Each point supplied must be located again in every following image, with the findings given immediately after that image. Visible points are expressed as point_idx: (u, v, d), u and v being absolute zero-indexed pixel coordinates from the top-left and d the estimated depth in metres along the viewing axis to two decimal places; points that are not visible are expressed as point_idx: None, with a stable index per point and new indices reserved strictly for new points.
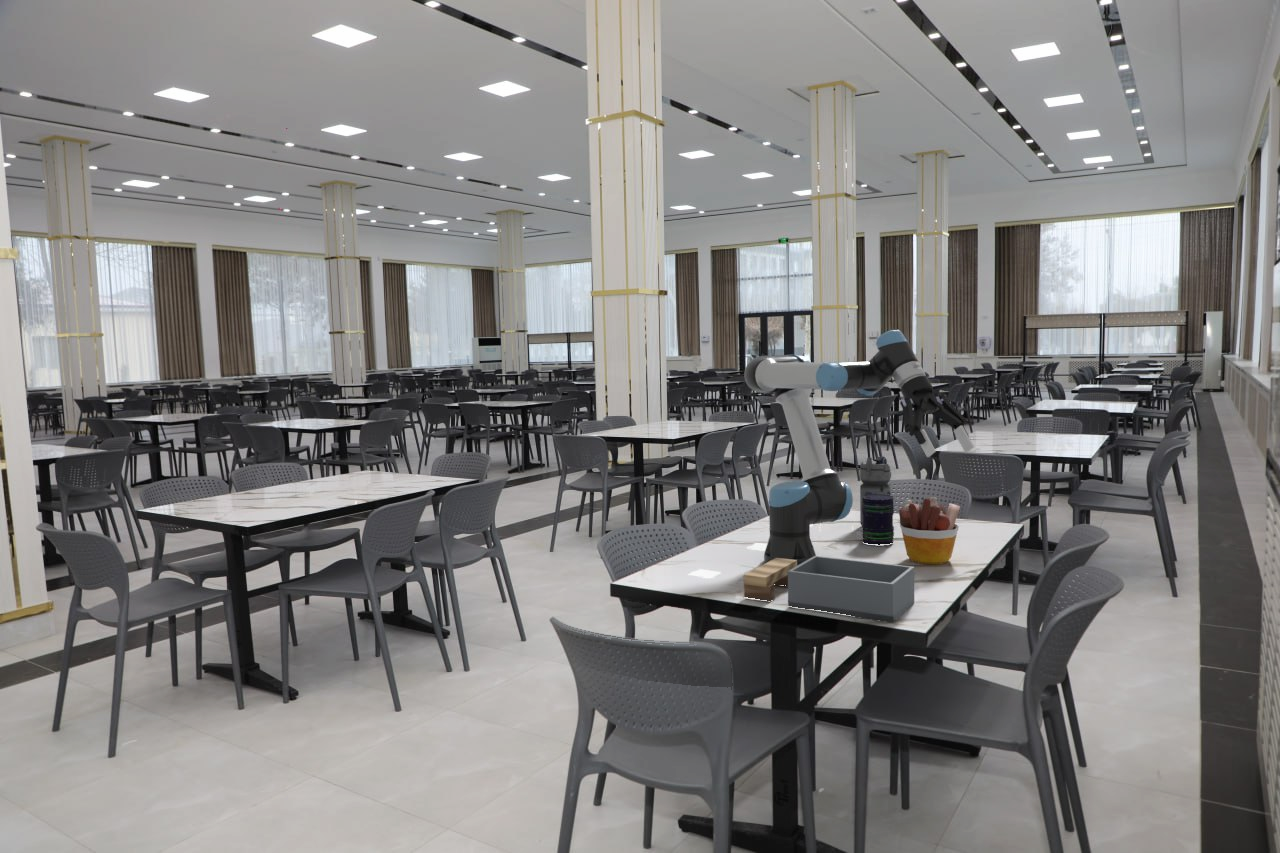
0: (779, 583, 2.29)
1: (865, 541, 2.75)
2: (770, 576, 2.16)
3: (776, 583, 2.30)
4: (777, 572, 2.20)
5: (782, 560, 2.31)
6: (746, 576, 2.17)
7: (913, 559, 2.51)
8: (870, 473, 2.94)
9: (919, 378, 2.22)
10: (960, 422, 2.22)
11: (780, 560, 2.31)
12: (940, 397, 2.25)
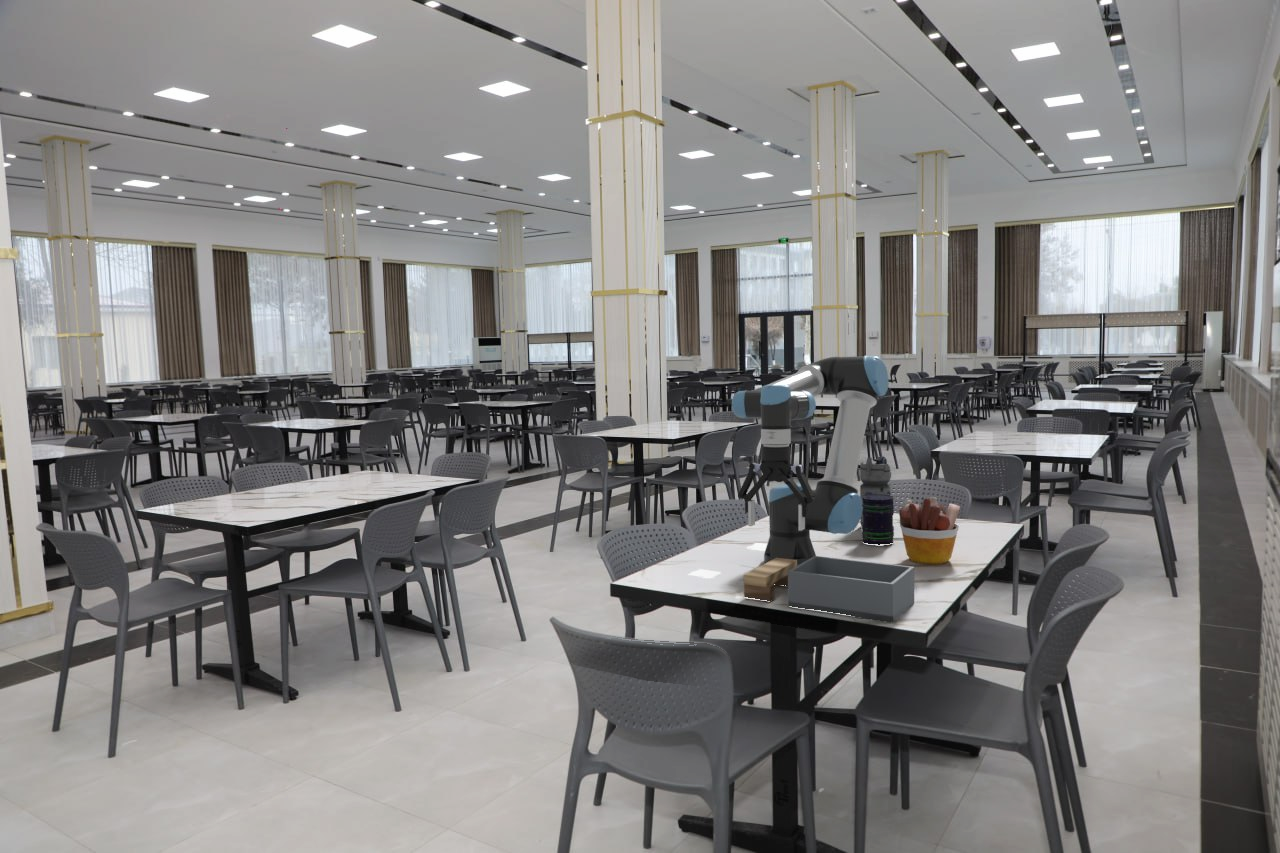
0: (779, 583, 2.29)
1: (865, 541, 2.75)
2: (770, 576, 2.16)
3: (776, 583, 2.30)
4: (777, 572, 2.20)
5: (782, 560, 2.31)
6: (746, 576, 2.17)
7: (913, 559, 2.51)
8: (870, 473, 2.94)
9: (765, 450, 2.18)
10: (802, 501, 2.17)
11: (780, 560, 2.31)
12: None
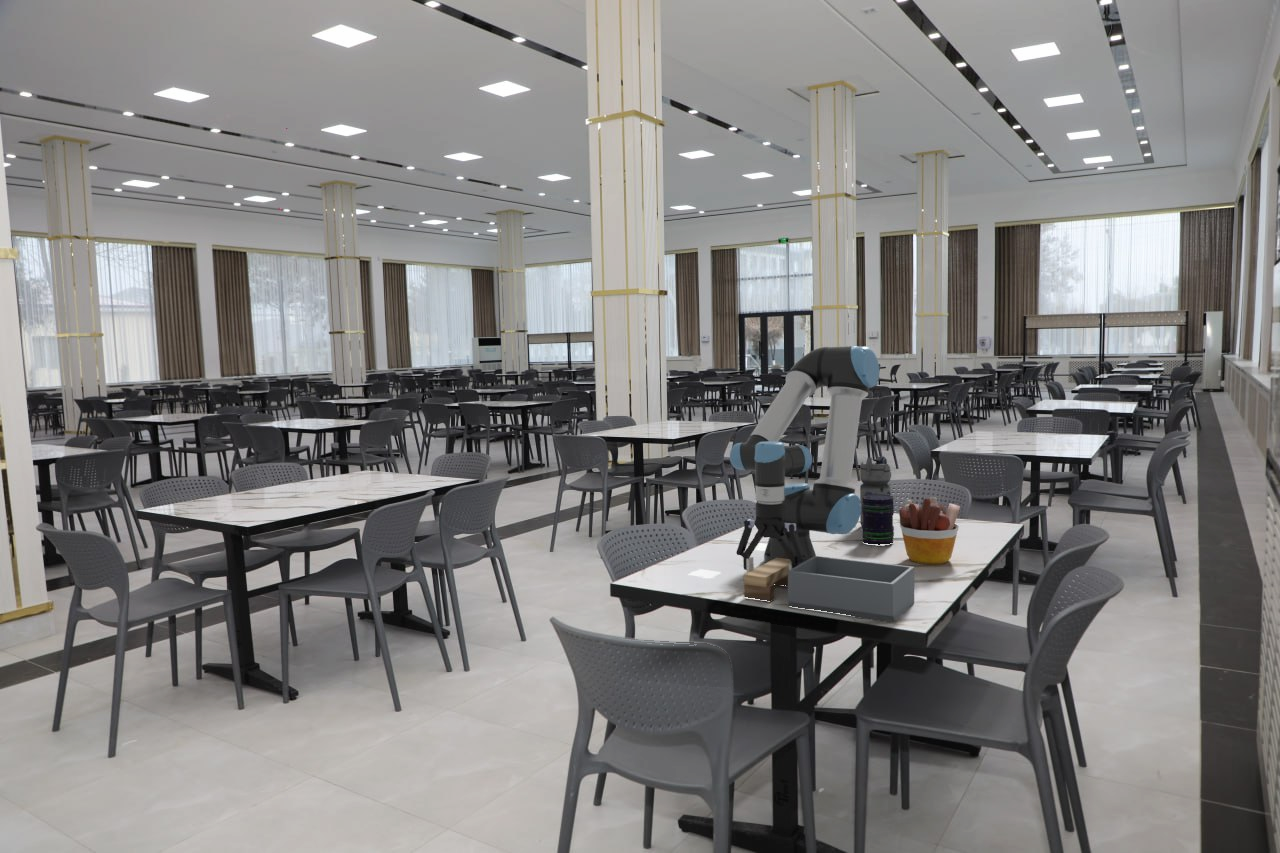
0: (779, 583, 2.29)
1: (865, 541, 2.75)
2: (770, 576, 2.16)
3: (776, 583, 2.30)
4: (777, 572, 2.20)
5: (782, 560, 2.31)
6: (746, 576, 2.17)
7: (913, 559, 2.51)
8: (870, 473, 2.94)
9: (759, 507, 2.20)
10: (792, 560, 2.19)
11: (780, 560, 2.31)
12: None
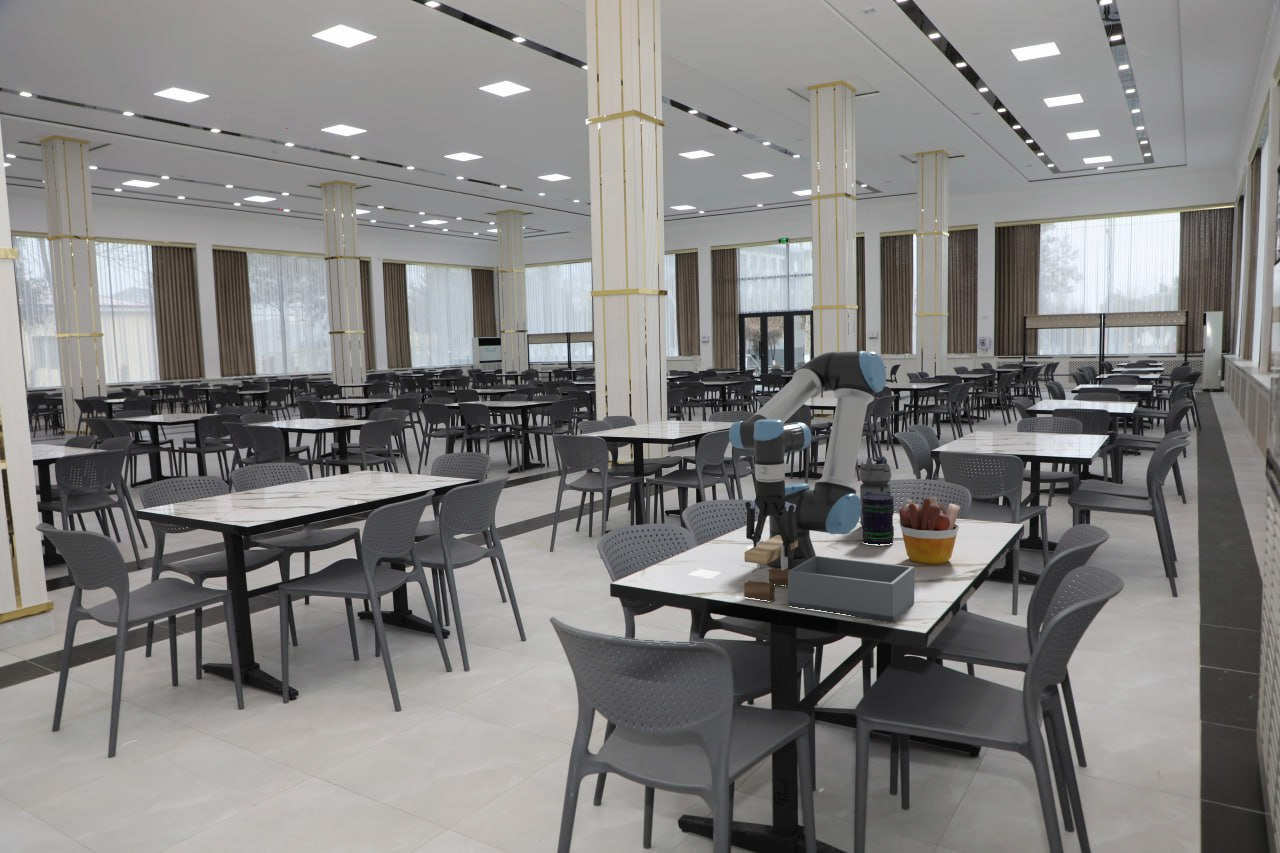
0: (779, 583, 2.29)
1: (865, 541, 2.75)
2: (771, 553, 2.16)
3: (776, 583, 2.30)
4: (778, 549, 2.20)
5: None
6: (747, 553, 2.16)
7: (913, 559, 2.51)
8: (870, 473, 2.94)
9: (759, 485, 2.20)
10: (784, 541, 2.20)
11: None
12: (789, 507, 2.19)
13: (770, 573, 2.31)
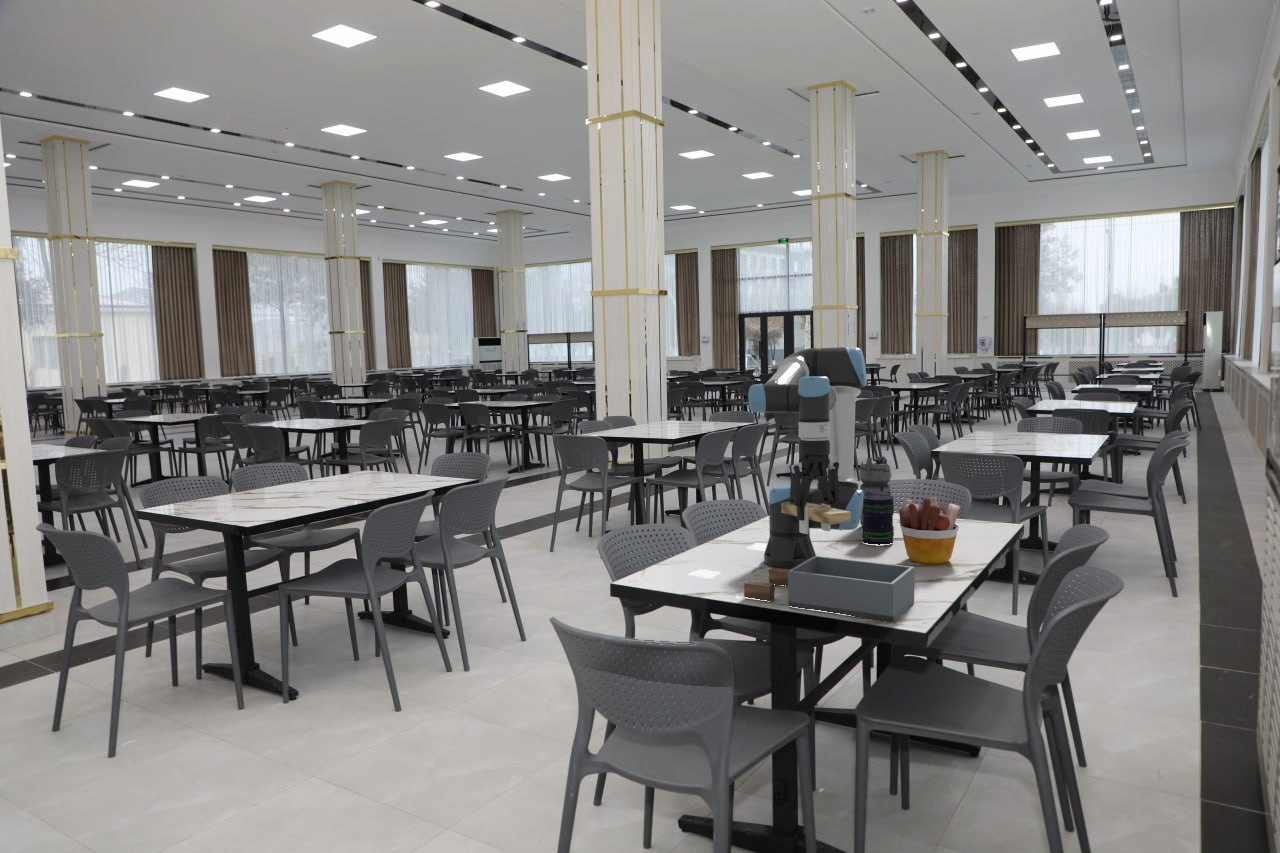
0: (779, 583, 2.29)
1: (865, 541, 2.75)
2: None
3: (776, 583, 2.30)
4: None
5: None
6: (832, 515, 2.04)
7: (913, 559, 2.51)
8: (870, 473, 2.94)
9: (818, 444, 2.09)
10: (830, 500, 2.15)
11: None
12: (834, 464, 2.15)
13: (770, 573, 2.31)
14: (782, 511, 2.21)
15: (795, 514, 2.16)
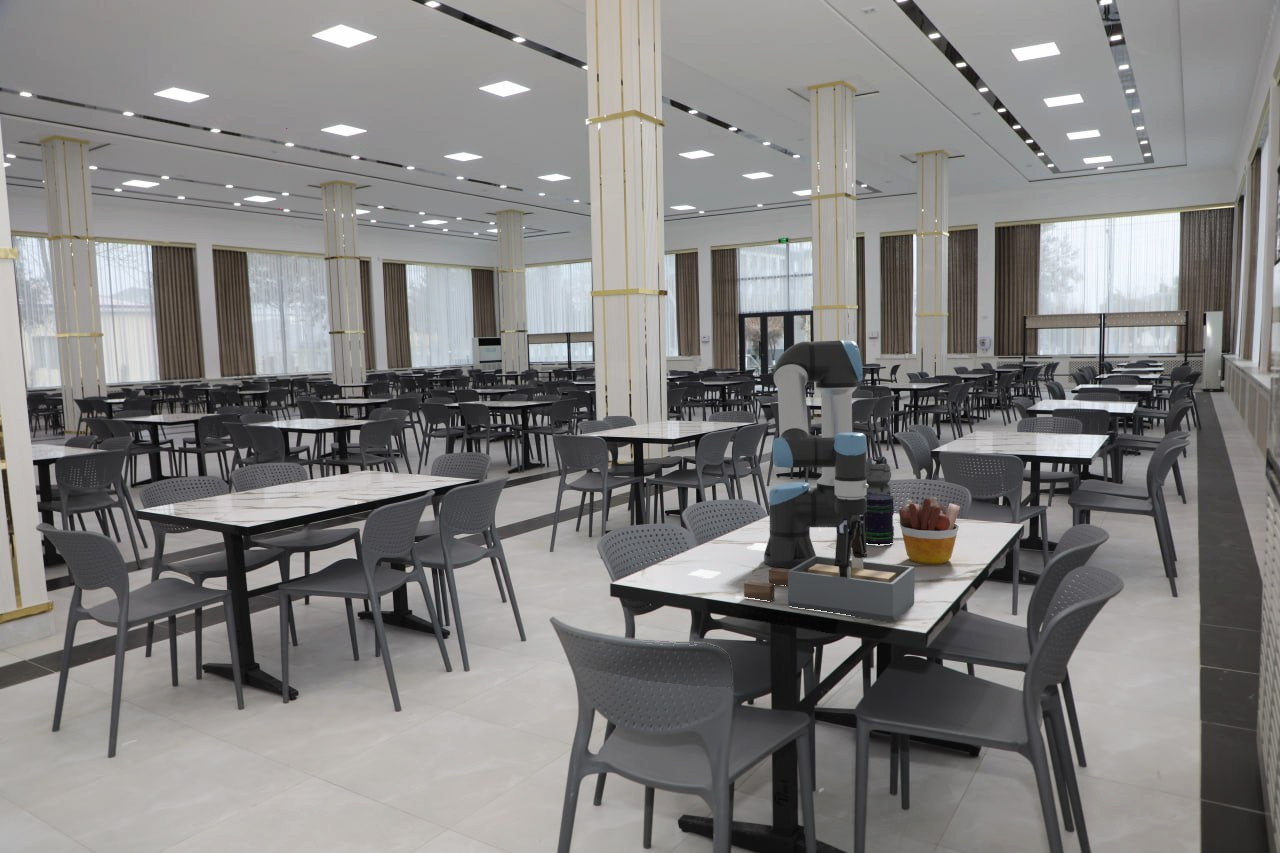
0: (779, 583, 2.29)
1: None
2: None
3: (776, 583, 2.30)
4: None
5: (820, 567, 2.14)
6: (889, 579, 2.03)
7: (913, 559, 2.51)
8: (870, 473, 2.94)
9: (863, 503, 2.06)
10: (863, 553, 2.14)
11: (820, 568, 2.14)
12: (861, 518, 2.13)
13: (770, 573, 2.31)
14: None
15: None
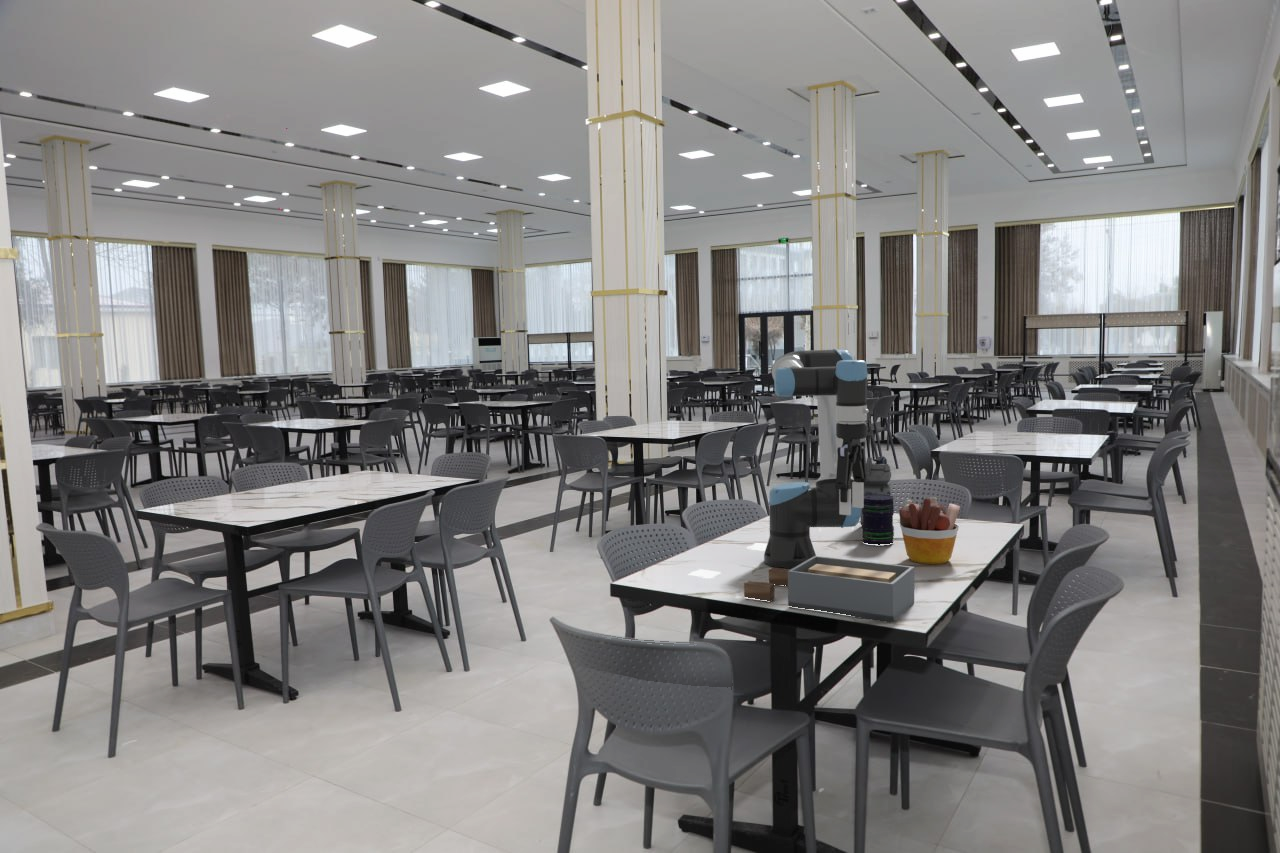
0: (779, 583, 2.29)
1: (865, 541, 2.75)
2: None
3: (776, 583, 2.30)
4: None
5: (820, 567, 2.14)
6: (889, 579, 2.03)
7: (913, 559, 2.51)
8: (870, 473, 2.94)
9: (863, 427, 2.12)
10: (863, 478, 2.21)
11: (820, 568, 2.14)
12: (862, 444, 2.20)
13: (770, 573, 2.31)
14: None
15: None
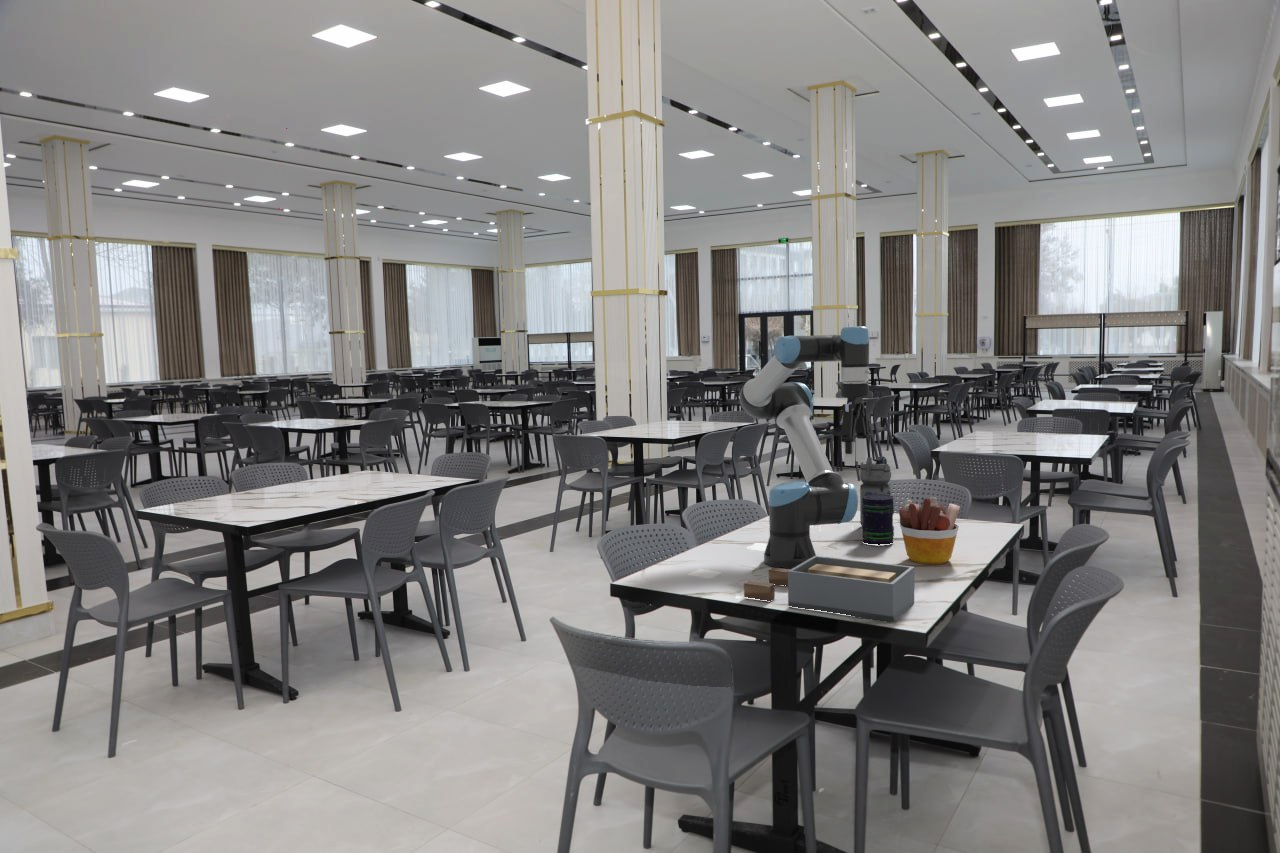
0: (779, 583, 2.29)
1: (865, 541, 2.75)
2: None
3: (776, 583, 2.30)
4: None
5: (820, 567, 2.14)
6: (889, 579, 2.03)
7: (913, 559, 2.51)
8: (870, 473, 2.94)
9: (865, 386, 2.36)
10: (865, 434, 2.44)
11: (820, 568, 2.14)
12: (864, 403, 2.44)
13: (770, 573, 2.31)
14: None
15: None
